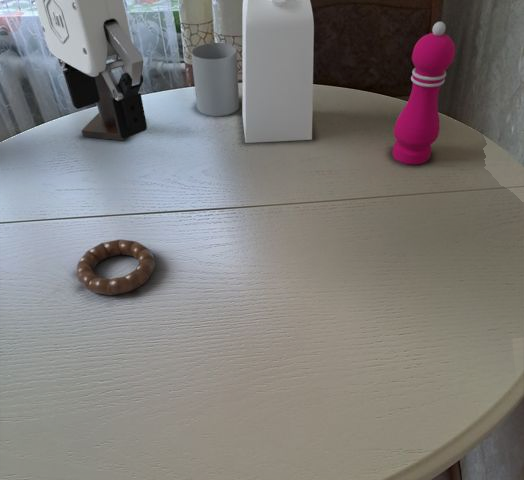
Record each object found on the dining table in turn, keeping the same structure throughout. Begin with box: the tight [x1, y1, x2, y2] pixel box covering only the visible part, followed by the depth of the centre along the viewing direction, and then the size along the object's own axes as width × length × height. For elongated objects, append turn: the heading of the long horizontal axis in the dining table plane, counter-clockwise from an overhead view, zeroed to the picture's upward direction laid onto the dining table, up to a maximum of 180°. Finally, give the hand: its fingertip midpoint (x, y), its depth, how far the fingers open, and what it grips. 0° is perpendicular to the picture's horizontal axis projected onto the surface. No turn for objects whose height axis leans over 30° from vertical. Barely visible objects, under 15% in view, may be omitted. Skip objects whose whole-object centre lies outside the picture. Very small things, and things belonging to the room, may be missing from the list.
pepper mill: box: [391, 21, 456, 166], centre depth 78 cm, size 7×7×20 cm
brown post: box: [81, 72, 125, 142], centre depth 89 cm, size 8×8×13 cm
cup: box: [190, 42, 240, 117], centre depth 96 cm, size 8×8×10 cm
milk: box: [241, 0, 315, 144], centre depth 84 cm, size 12×12×26 cm
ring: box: [76, 238, 156, 296], centre depth 66 cm, size 10×10×2 cm
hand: (109, 118), depth 55 cm, fingers open, 9 cm apart
